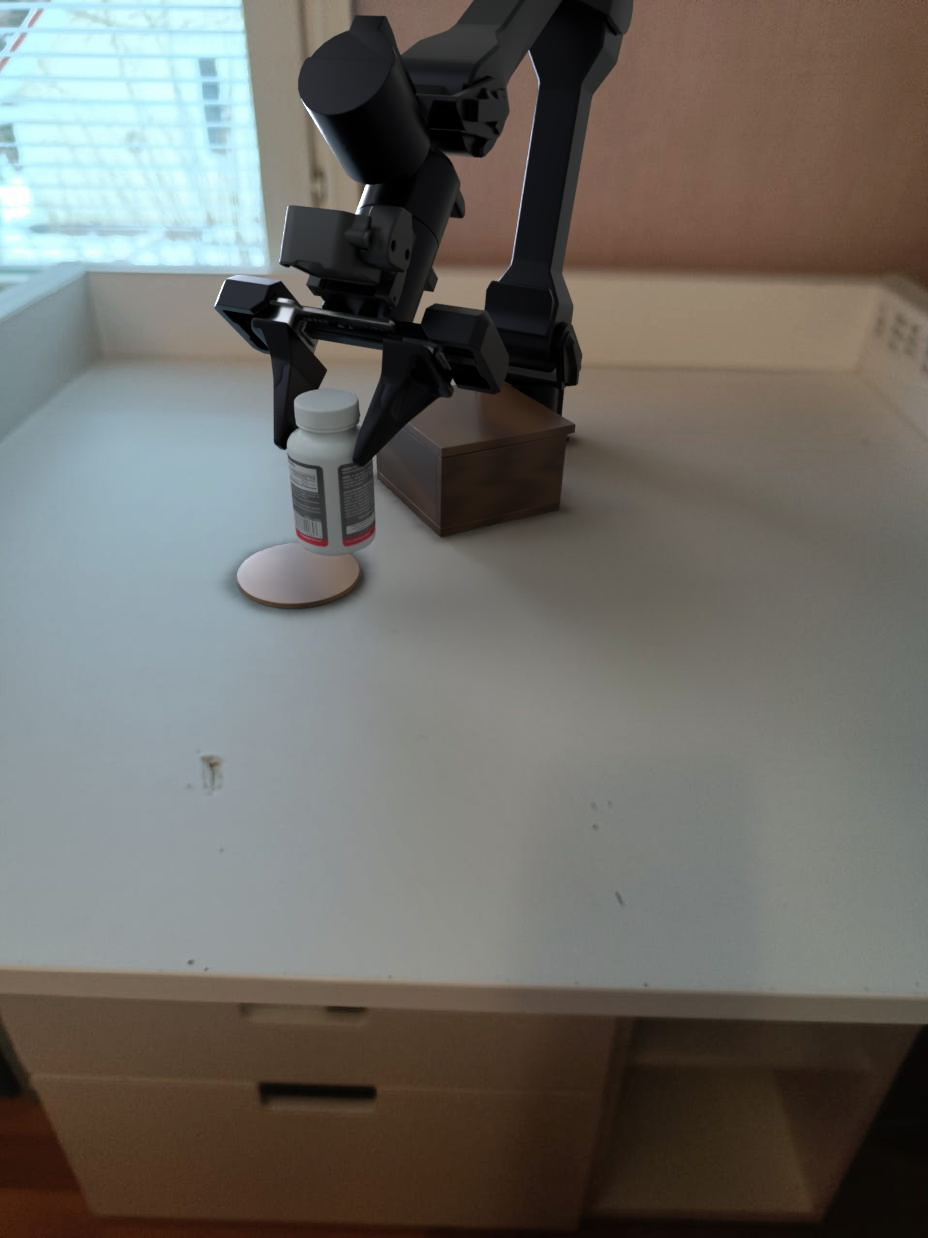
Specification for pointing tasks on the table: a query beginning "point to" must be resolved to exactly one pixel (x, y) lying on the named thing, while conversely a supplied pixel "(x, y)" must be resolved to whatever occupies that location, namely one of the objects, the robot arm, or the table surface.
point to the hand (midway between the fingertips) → (317, 455)
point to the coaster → (296, 576)
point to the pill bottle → (330, 475)
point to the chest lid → (485, 421)
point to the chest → (473, 481)
